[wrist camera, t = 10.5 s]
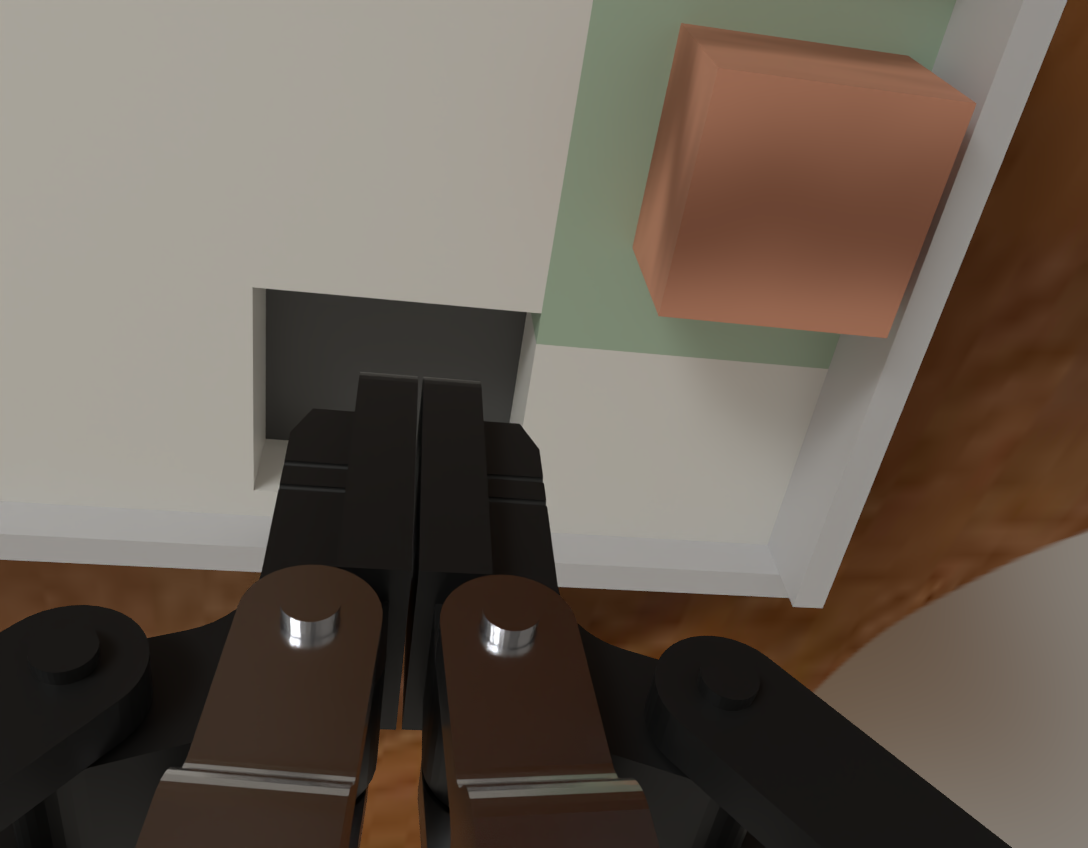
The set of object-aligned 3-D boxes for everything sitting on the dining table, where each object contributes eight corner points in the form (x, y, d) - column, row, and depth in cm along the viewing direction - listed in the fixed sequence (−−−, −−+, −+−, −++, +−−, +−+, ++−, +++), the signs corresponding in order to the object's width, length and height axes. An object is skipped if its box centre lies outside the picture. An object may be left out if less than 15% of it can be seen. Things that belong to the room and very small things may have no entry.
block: (680, 22, 25) (718, 67, 22) (908, 55, 26) (976, 103, 23) (632, 247, 29) (658, 316, 25) (836, 269, 30) (887, 338, 26)
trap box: (-537, -424, 21) (-832, -468, 16) (990, -156, 27) (1119, -129, 22) (-248, 451, 33) (-367, 579, 28) (764, 513, 38) (813, 630, 34)
